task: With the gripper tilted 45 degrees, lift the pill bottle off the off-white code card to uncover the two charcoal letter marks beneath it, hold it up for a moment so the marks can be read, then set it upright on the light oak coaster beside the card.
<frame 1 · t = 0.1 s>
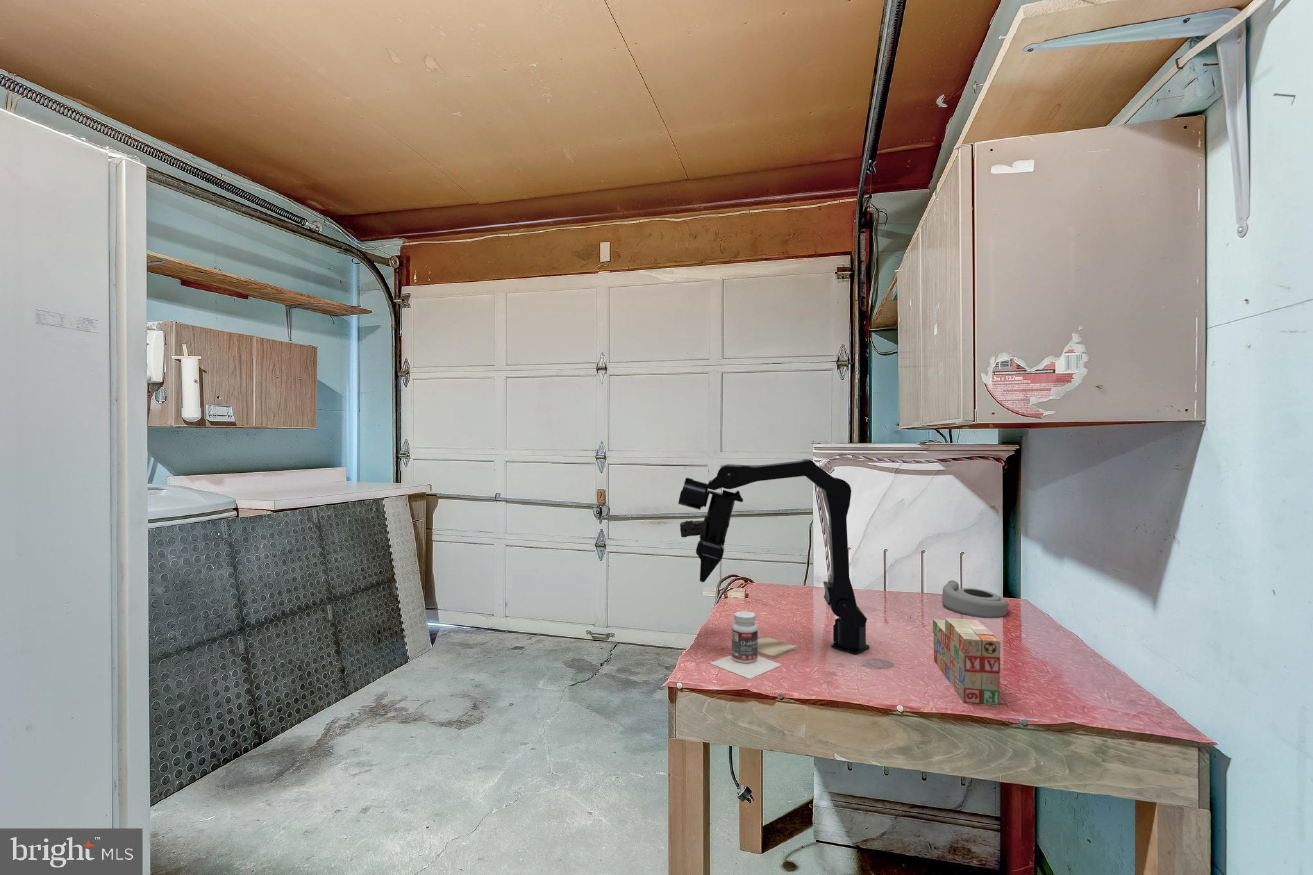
hand: (702, 577, 139), 15 cm above the table, tool pointing down, fingers open, 9 cm apart
pill bottle: (744, 659, 127), resting on code card
code card: (745, 664, 124), on the table
oak coaster: (769, 648, 134), on the table
turbocharger housing: (973, 611, 165), on the table
stack of blocks: (963, 682, 116), on the table
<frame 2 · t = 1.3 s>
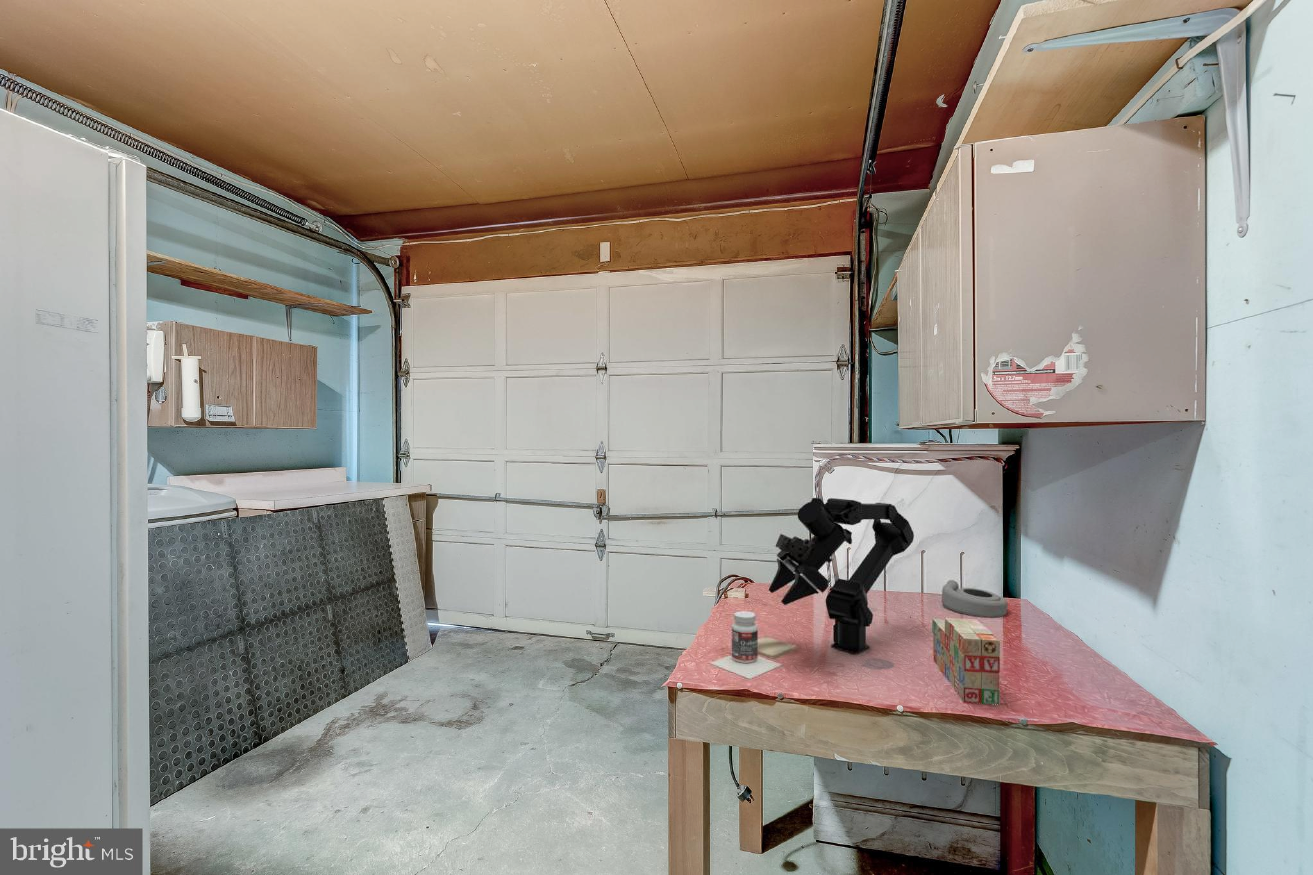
hand: (776, 597, 129), 13 cm above the table, tool tilted 45°, fingers open, 9 cm apart
nothing on the table moved.
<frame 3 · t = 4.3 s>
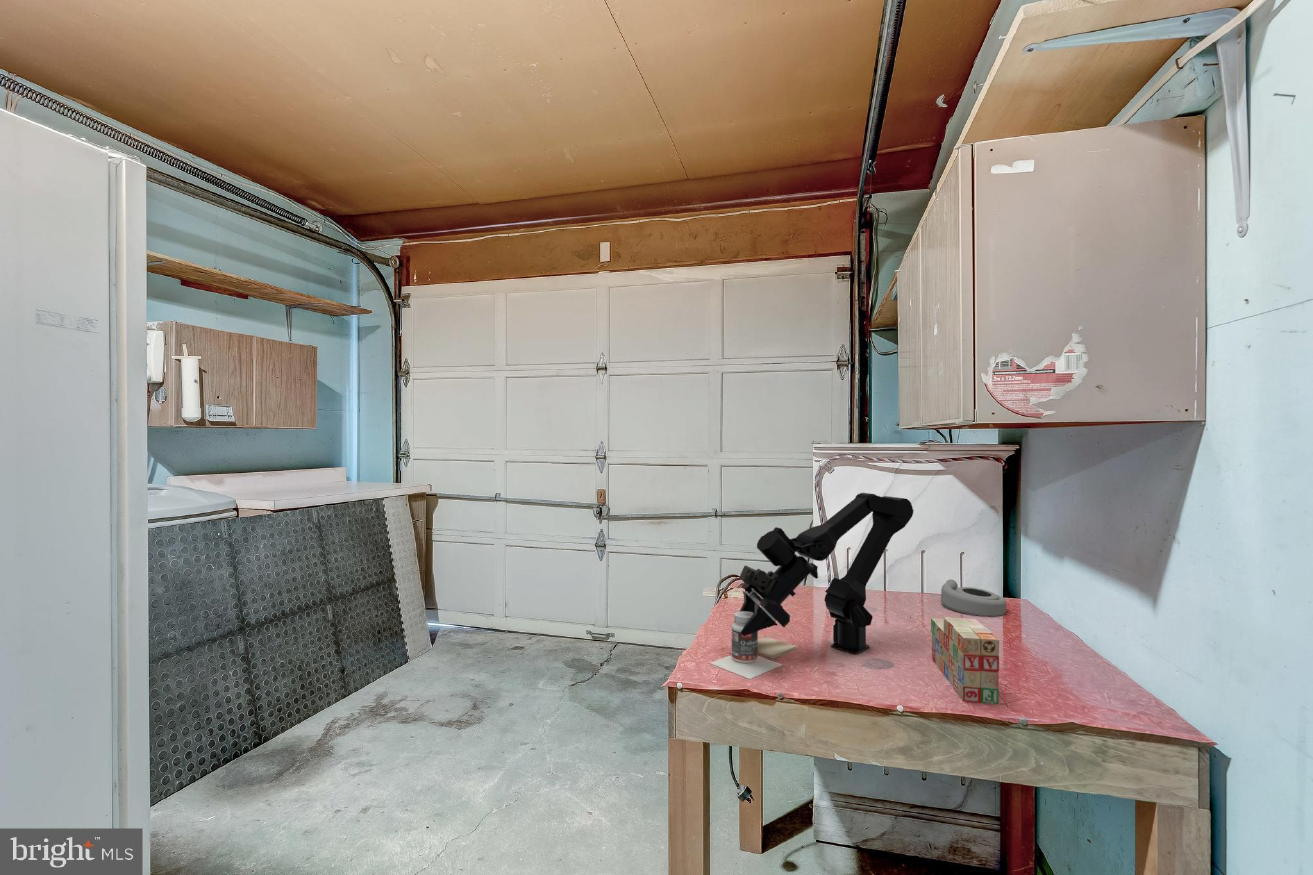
hand: (738, 629, 127), 7 cm above the table, tool tilted 45°, fingers closed on pill bottle, 6 cm apart
pill bottle: (744, 659, 127), resting on code card, touching gripper
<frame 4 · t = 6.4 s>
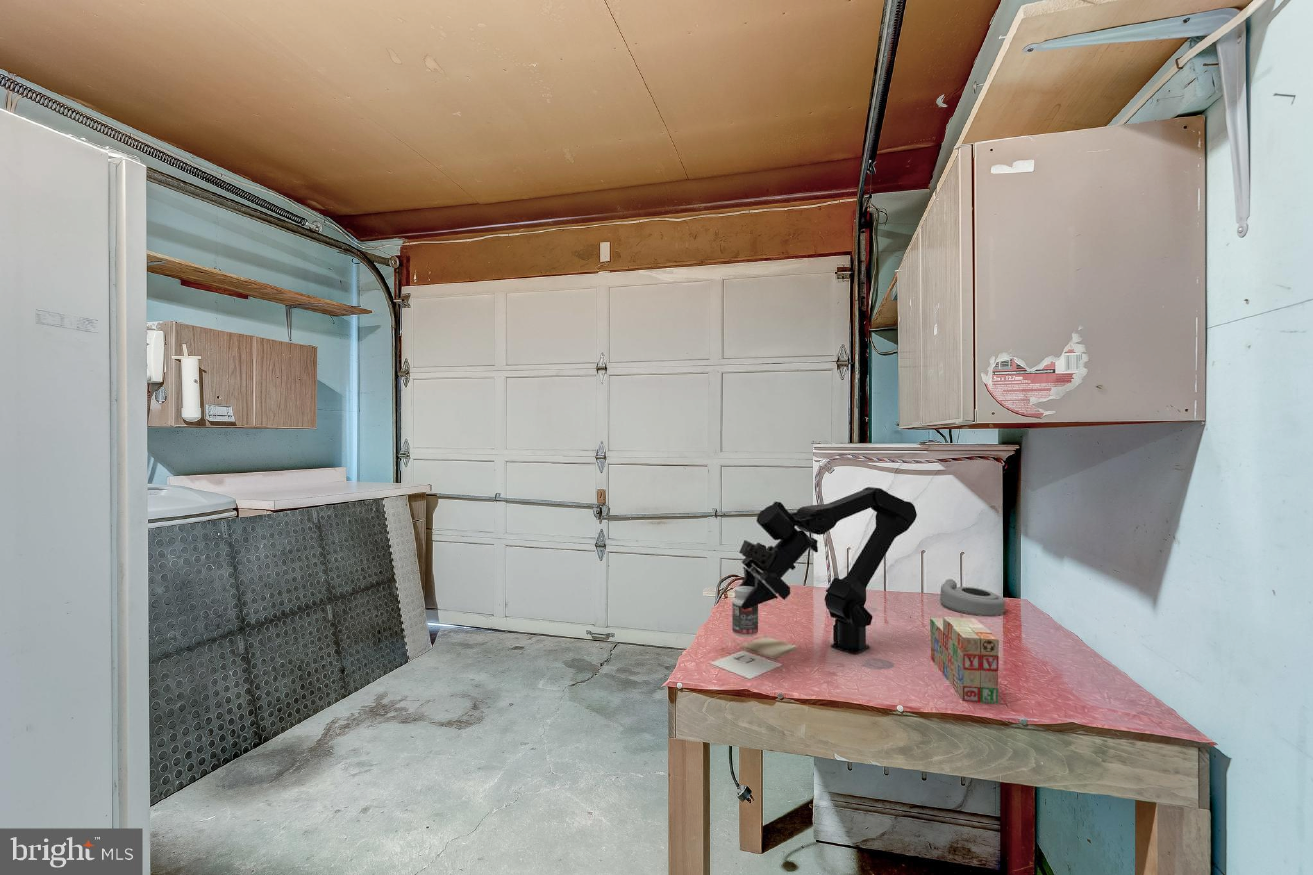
hand: (738, 604, 127), 12 cm above the table, tool tilted 45°, fingers closed on pill bottle, 6 cm apart
pill bottle: (745, 634, 127), point 6 cm above the table, touching gripper
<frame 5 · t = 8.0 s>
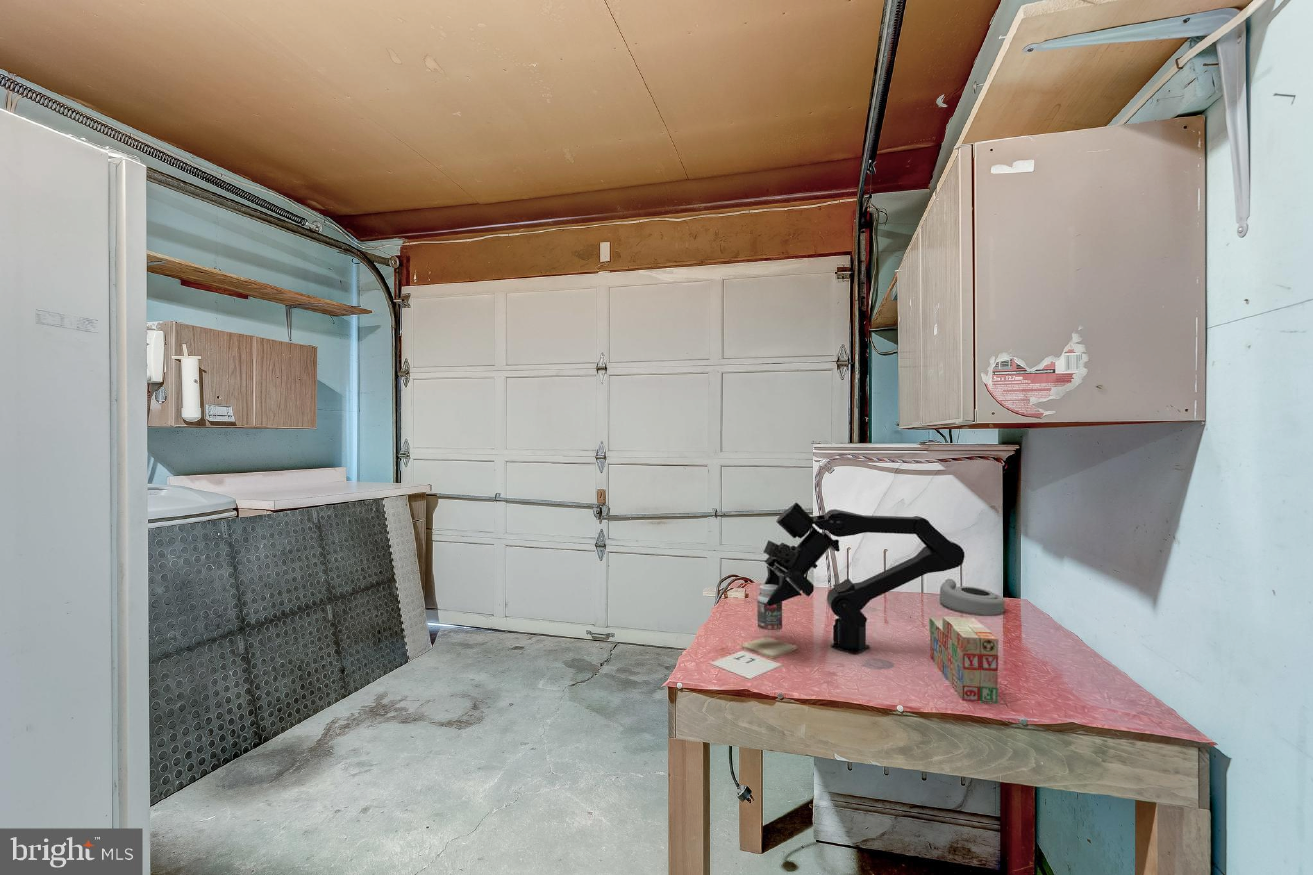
hand: (763, 601, 134), 11 cm above the table, tool tilted 45°, fingers closed on pill bottle, 6 cm apart
pill bottle: (770, 629, 134), point 4 cm above the table, touching gripper
when the fingers open (8 cm above the table, at t = 9.0 s): pill bottle drops 1 cm, resting on oak coaster.
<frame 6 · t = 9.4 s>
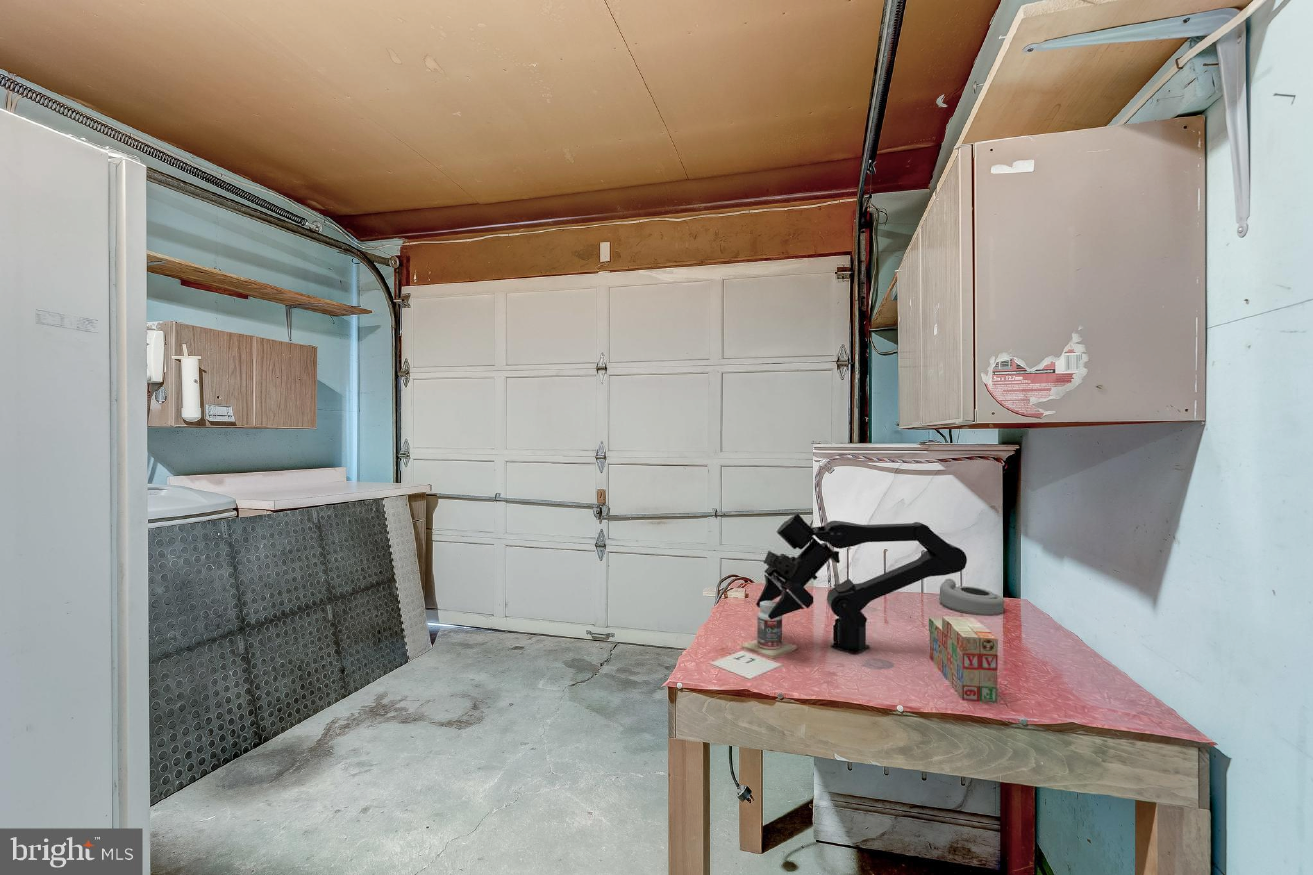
hand: (763, 611, 134), 9 cm above the table, tool tilted 45°, fingers open, 9 cm apart
pill bottle: (769, 646, 134), resting on oak coaster
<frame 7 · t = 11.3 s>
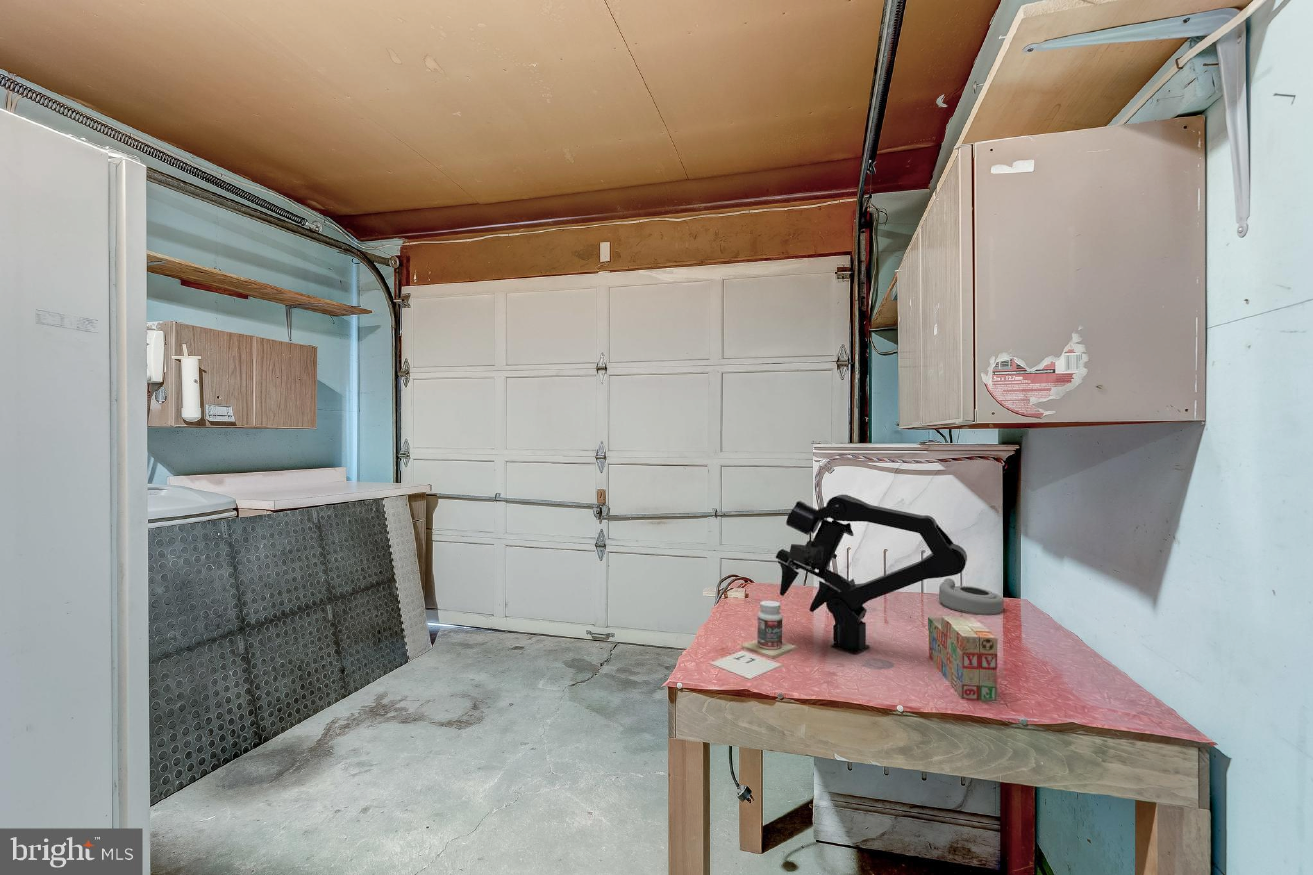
hand: (795, 603, 134), 11 cm above the table, tool tilted 30°, fingers open, 9 cm apart
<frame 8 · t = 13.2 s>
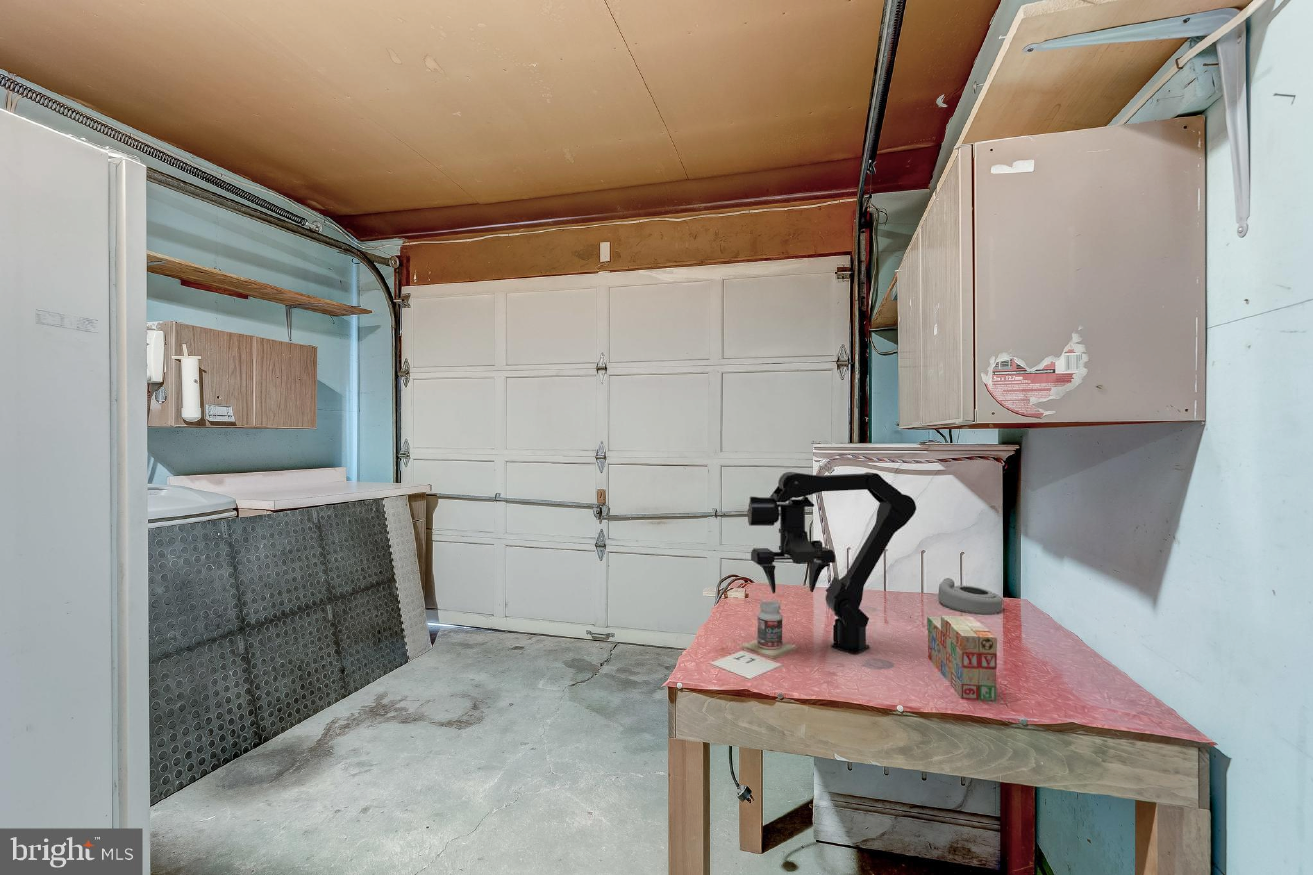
hand: (792, 592, 134), 13 cm above the table, tool pointing down, fingers open, 9 cm apart
at the end: pill bottle 0.1 cm off-centre on the oak coaster, point 0.4 cm above the oak coaster's base; pill bottle tilted 0°; the gripper is holding nothing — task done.
